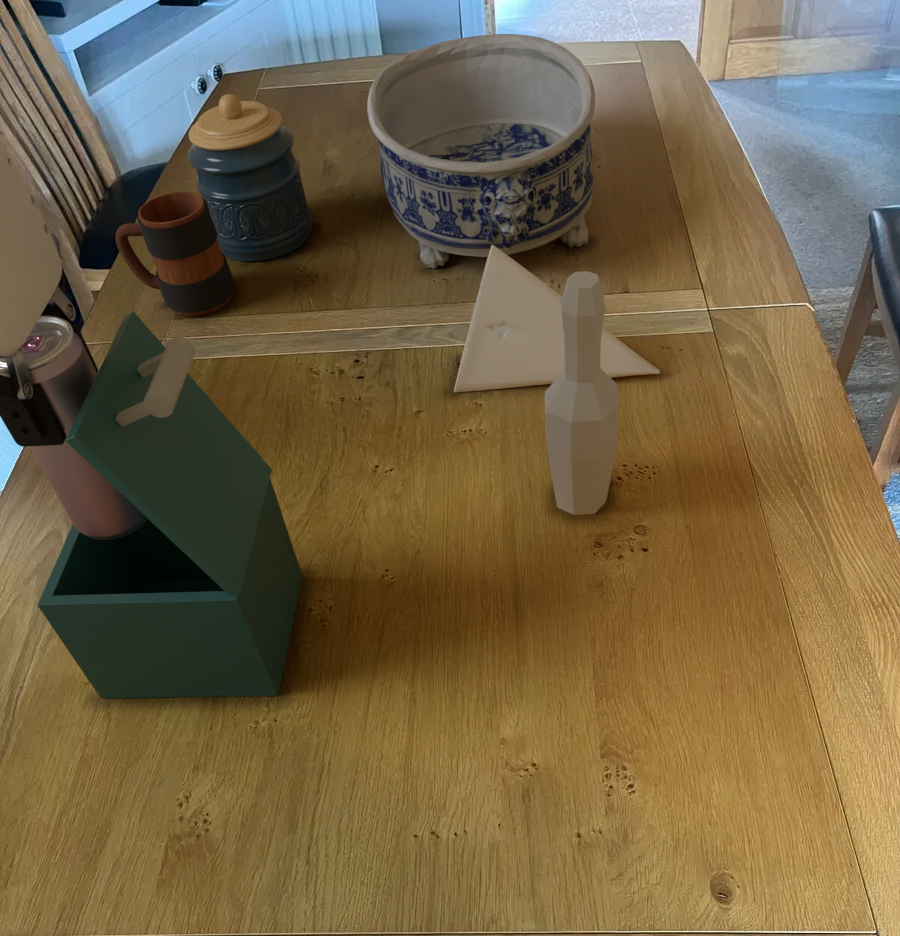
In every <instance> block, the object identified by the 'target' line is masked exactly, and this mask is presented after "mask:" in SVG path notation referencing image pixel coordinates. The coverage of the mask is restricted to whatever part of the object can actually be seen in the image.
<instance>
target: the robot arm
mask: <svg viewBox="0 0 900 936" xmlns="http://www.w3.org/2000/svg"><path fill="white" fill-rule="evenodd" d="M60 243H61V242H60V241H59V238H58V236H56V235H55V234H54V233H52V232H51V231H50V229H49V227H48V225H47V222H46V220H45V218H44V215H43V214H42V212H41V210H40V208H39V206H38V204H37V202H36V200H35V197H34V196H33V194H32V192H31V190H30V188H29V186H28V185H27V182H26V181H25V179H24V177H23V175H22V173H21V171H20V169H19V168H18V166H17V164H16V163H15V161H14V159H13V157H12V155H11V153H10V152H9V150H8V149H7V147H6V146H5V144H4V142H3V140H2V139H1V138H0V358H5V361H6V364H7V367H8V371H9V374H10V377H7V376H3V375H0V418H1V420H2V423H4V425H5V427H6V429H7V431H8V432H9V434H10V435H11V437H12V439H13V441H14V442H15V444H17V445H18V446H19V447H24V448H25V447H29V446H49V445H62V444H63V443H64V441H65V439H66V434H65V431H64V430H63V428H62V426H61V424H60V422H59V420H58V418H57V416H56V414H55V413H54V411H53V409H52V407H51V405H50V403H49V401H48V399H47V397H46V396H45V394H44V392H43V390H42V388H33V386H32V382H31V379H30V375H29V372H28V368H27V365H26V361H25V358H24V354H23V351H22V347H21V346H22V344H23V343H24V342H25V340H26V339H27V337H28V336H29V334H30V332H31V331H32V329H33V328H34V326H35V324H36V323H37V321H38V319H39V317H40V316H55V317H59V318H62V319H64V320H66V321H67V322H68V323H69V324H70V325H71V327H72V329H73V331H74V332H75V333H76V334H77V335H78V336H79V337H80V339H81V341H82V343H83V345H84V347H85V349H86V351H87V354H88V356H89V358H90V360H91V362H92V364H93V366H94V369H95V371H96V373H97V374H98V371H99V368H98V366H97V364H96V362H95V359H94V358H93V355H92V353H91V351H90V349H89V347H88V344H87V343H86V341H85V338H84V336H83V334H82V332H81V330H80V327H79V325H78V323H77V322H74V320H75V319H76V308H75V305H74V304H73V303H72V302H71V300H70V299H69V297H67V287H66V281H67V277H65V273H64V272H63V264H62V263H63V262H62V258H61V257H62V256H61V245H60Z"/></svg>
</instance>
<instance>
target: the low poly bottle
mask: <svg viewBox="0 0 900 936" xmlns="http://www.w3.org/2000/svg"><path fill="white" fill-rule="evenodd" d="M561 296H562V299H561V311H562V320H563V329H564V352H565V370H564V371H563V372H562V373H561V375H560V376H559V377H558V378H557V379H556V380H555V381H554V382H553V384H550V385H549V387H548V388H547V389H546V390H545V391H544V423H545V426H544V427H545V442H546V454H547V458H548V464H549V469H550V475H551V482H552V486H553V492H554V498H555V502H556V503H555V504H556V508H558V509H560V510H562V511H564V512H567V513H569V514H571V515H572V516H583V515H596V513H597V512H598V511H599V510H601V508H602V507H603V506H604V505H605V504H606V503H607V500H608V499H607V498H608V493H609V489H610V484H611V480H612V475H613V469H614V464H615V460H616V454H617V451H618V447H619V446H618V445H619V433H620V413H621V411H620V410H621V401H620V394H619V387H618V383H617V382H615V380H613V378H610V377H609V376H608V375H607V374H606V373H605V372H604V371H603V370H602V369H601V368H600V353H601V336H602V329H603V328H604V320H605V313H606V300H605V295H604V291H603V288H602V285H601V282H600V277H599V274H598V273H594V272H591V271H588V270H587V271H575V272H573V273H572V274H571V275H570V276H568V277H567V280H566V282H565V286H564V289H563V293H562V294H561Z"/></svg>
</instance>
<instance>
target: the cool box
mask: <svg viewBox="0 0 900 936" xmlns="http://www.w3.org/2000/svg"><path fill="white" fill-rule="evenodd" d="M62 545H63V546H62V548H61V550H60V552H59V554H58V557H57V559H56V561H55V564H54V566H53V568H52V570H51V573H50V575H49V578H48V580H47V581H46V584H45V586H44V588H43V591H42V593H41V596H40V598H39V601H38V602H37V608H39V610H40V611H41V613H42V615H43V616H44V618H45V619H46V620H47V622H48V623H49V624H50V626H51V627H52V629H53V630H54V632H55V633H56V635H57V637H58V638H59V639H60V640H61V642H62V643H63V645H64V647H65V648H66V649H67V651H68V653H69V655H71V657H72V659H73V660H74V661H75V663H76V664H77V665H78V667H79V669H80V670H81V672H82V673H83V674H84V676H85V677H86V679H87V680H88V682H89V684H90V685H91V686H92V688H93V690H94V691H95V692H96V693H97V695H98V696H99V698H100V699H151V698H153V699H154V698H155V699H156V698H157V699H159V698H166V699H167V698H227V697H228V698H229V697H231V698H232V697H233V698H235V697H239V698H240V697H278V696H279V693H280V689H281V684H282V680H283V679H282V678H283V674H284V668H285V663H286V659H287V654H288V649H289V643H290V639H291V635H292V629H293V624H294V620H295V615H296V609H297V605H298V600H299V595H300V590H301V585H302V582H303V581H302V580H303V574H302V573H303V572H302V569H301V567H300V564H299V561H298V557H297V555H296V552H295V548H294V545H293V543H292V539H291V537H290V533H289V532H288V528H287V525H286V522H285V519H284V516H283V513H282V510H281V506H280V504H279V500H278V498H277V495H276V492H275V489H274V484H273V482H272V479H271V478H270V479H269V483H268V487H267V491H266V495H265V499H264V503H263V507H262V511H261V514H260V518H259V522H258V526H257V530H256V534H255V538H254V542H253V545H252V549H251V553H250V557H249V561H248V565H247V569H246V573H245V577H244V580H243V584H242V588H241V592H240V594H239V595H236V596H233V597H231V596H230V595H228V594H227V593H226V592H225V591H224V590H223V589H222V588H221V587H220V586H219V585H218V584H217V583H216V582H215V581H214V580H213V579H212V578H210V577H209V576H208V575H207V574H206V573H205V572H204V571H203V570H202V569H201V568H200V567H199V566H198V565H197V564H196V563H195V562H193V561H192V560H191V559H190V558H189V557H188V556H187V555H186V554H185V553H184V552H183V551H182V550H181V549H180V548H179V547H178V546H177V545H175V544H174V543H173V542H172V541H171V540H170V539H169V538H168V537H167V536H166V535H165V534H164V533H163V532H162V531H161V530H160V529H158V528H157V527H156V526H155V525H154V524H153V523H152V522H151V521H150V520H149V519H147V520H146V522H145V523H144V524H143V525H142V526H141V527H140V528H138V529H137V530H135V531H134V532H132V533H130V534H128V535H126V536H124V537H121V538H117V539H112V540H98V539H94V538H91V537H88V536H86V535H84V534H82V533H81V532H79V531H78V530H77V529H76V528H75V526H74V525H73V524H72V525H71V527H70V529H69V532H68V534H67V536H66V539H65V541H64V543H63V544H62Z"/></svg>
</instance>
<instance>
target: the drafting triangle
mask: <svg viewBox="0 0 900 936" xmlns="http://www.w3.org/2000/svg"><path fill="white" fill-rule="evenodd" d="M482 273H483V274H482V277H481V281H480V285H479V289H478V293H477V296H476V300H475V303H474V309H473V312H472V316H471V320H470V324H469V327H468V331H467V335H466V339H465V342H464V347H463V351H462V355H461V359H460V363H459V367H458V372H457V374H456V375H457V376H456V380H455V385H454V388H453V392H454V393H466V392H478V391H489V390H499V389H501V390H502V389H510V388H521V387H523V388H524V387H532V386H533V387H534V386H542V385H552V384H553V382H554V381H555V380H556V379H557V378H558V377H559V376H560V375H561V373H562V372H563V371H564V370H565V352H564V329H563V320H562V311H561V299H562V294H560V293H558V292H557V291H556V290H554V289H553V288H552V287H550V286H549V285H548V284H547V283H545V282H544V281H543V280H542V279H540V278H539V277H537V276H536V275H535V274H533V273H532V272H530V270H528V269H526V268H525V267H524V266H523V265H522V264H520V263H518V262H517V261H516V260H515V259H513V258H512V257H510V256H509V255H506V254H505V253H504V252H502V251H501V250H500V249H498V248H497V247H495V246H494V245H492V246H491V249H490V252H489V255H488V257H486V261H485V265H484V269H483V272H482ZM600 368H601V369H602V370H603V371H604V372H605V373H606V374H607V375H608V376H609V377H610V378H611V379H613V378H621V377H630V376H632V377H633V376H644V375H660V374H661V370H660V369H659V368H657V367H656V366H654V365H653V364H652V363H650V362H649V361H648V360H646V359H645V358H643V357H642V356H641V355H639V354H638V353H637V352H635V351H634V350H633V349H632V348H630V347H629V346H628V345H626V344H625V343H624V342H623V341H621V340H620V339H618V338H617V337H616V336H615V335H614V334H612V333H611V332H610V331H608V330H607V329H606V328H604V327H603V329H602V336H601V353H600Z"/></svg>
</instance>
